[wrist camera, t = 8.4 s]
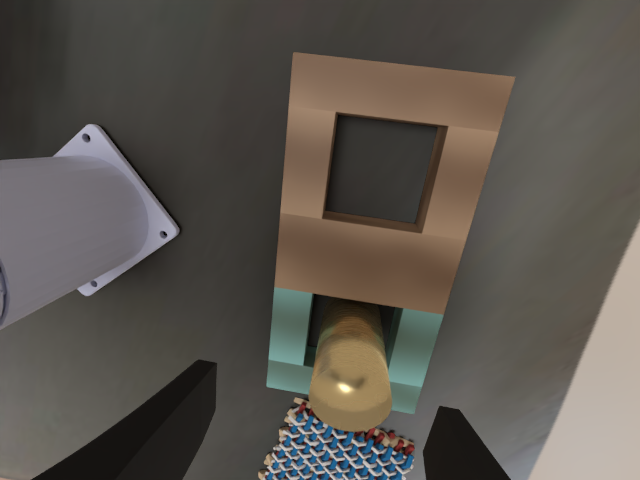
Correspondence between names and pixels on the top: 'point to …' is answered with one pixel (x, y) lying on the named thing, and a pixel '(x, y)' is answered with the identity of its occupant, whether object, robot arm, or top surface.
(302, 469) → the woven mat
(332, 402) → the brass pin
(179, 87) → the top surface
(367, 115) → the docking plate
